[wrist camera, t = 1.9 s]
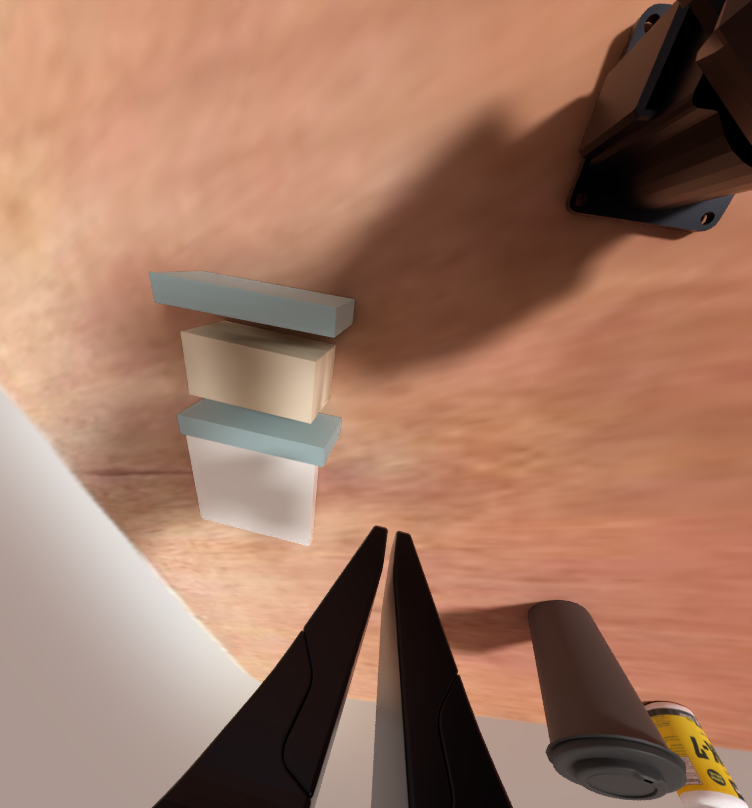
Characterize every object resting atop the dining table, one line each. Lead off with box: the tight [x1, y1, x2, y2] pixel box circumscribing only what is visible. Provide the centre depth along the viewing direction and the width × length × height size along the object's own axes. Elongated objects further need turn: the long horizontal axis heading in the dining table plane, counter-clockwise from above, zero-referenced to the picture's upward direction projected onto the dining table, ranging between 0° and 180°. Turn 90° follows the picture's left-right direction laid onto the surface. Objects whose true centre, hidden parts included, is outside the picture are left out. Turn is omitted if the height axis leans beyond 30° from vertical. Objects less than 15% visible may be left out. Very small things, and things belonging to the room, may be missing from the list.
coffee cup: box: [528, 600, 687, 800], centre depth 22 cm, size 8×8×10 cm
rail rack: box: [149, 271, 355, 467], centre depth 18 cm, size 10×10×4 cm
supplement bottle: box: [644, 702, 748, 808], centre depth 27 cm, size 5×5×8 cm
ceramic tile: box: [186, 435, 318, 546], centre depth 25 cm, size 11×11×1 cm
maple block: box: [180, 320, 336, 424], centre depth 18 cm, size 8×4×4 cm, turn 80°
